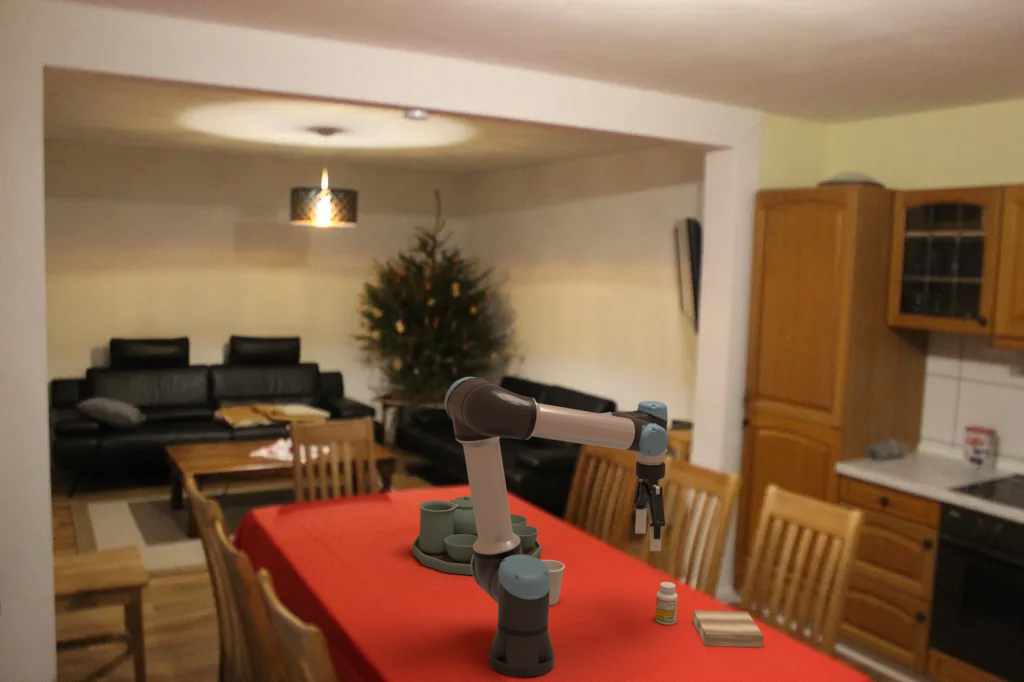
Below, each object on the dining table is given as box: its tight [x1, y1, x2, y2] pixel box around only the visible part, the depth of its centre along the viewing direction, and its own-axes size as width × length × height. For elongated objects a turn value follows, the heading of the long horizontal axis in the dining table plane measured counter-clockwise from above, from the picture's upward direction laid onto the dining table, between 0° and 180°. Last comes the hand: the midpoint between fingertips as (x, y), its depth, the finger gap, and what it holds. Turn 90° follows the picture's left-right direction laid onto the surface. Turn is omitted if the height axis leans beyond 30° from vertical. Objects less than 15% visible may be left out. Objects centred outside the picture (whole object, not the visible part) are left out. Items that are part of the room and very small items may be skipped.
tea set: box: [411, 495, 543, 576], centre depth 271 cm, size 40×40×16 cm
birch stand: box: [692, 609, 764, 648], centre depth 219 cm, size 14×14×3 cm
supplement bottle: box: [655, 581, 679, 626], centre depth 225 cm, size 5×5×10 cm
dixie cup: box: [541, 559, 566, 606], centre depth 235 cm, size 8×8×10 cm
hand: (647, 541), depth 226 cm, fingers open, 13 cm apart
